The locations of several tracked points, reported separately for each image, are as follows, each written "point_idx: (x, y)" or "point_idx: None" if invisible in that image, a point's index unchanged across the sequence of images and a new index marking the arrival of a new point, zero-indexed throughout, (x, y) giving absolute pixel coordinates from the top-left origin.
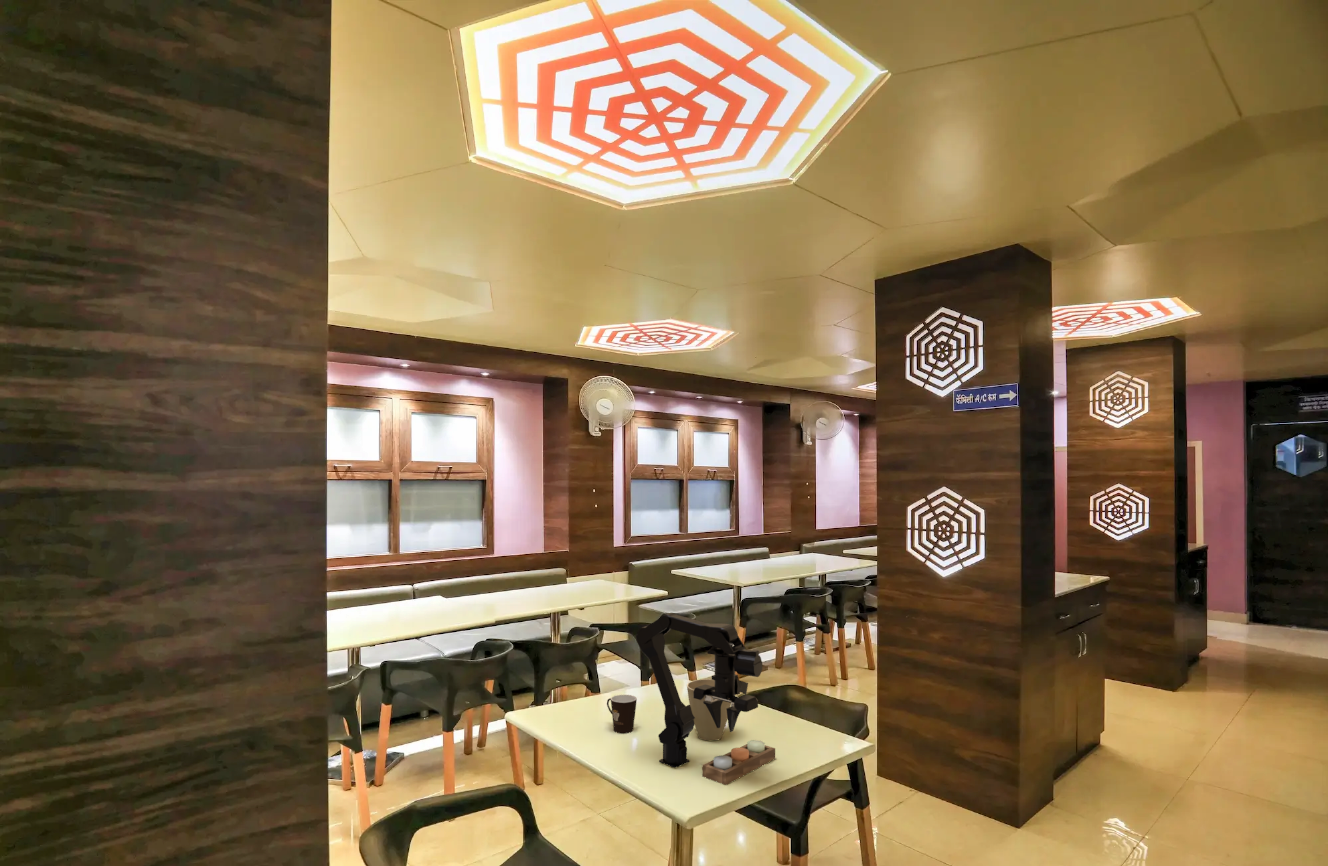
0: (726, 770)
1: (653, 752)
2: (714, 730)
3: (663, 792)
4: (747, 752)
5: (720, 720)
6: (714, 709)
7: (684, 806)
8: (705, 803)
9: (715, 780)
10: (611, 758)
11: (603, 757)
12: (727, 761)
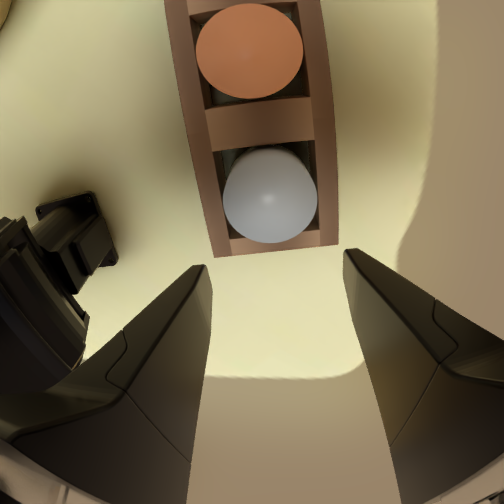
0: (323, 223)
1: None
2: None
3: (235, 359)
4: (296, 35)
5: (192, 300)
6: (178, 459)
7: (323, 363)
8: (352, 330)
9: None
10: None
11: None
12: (307, 206)
